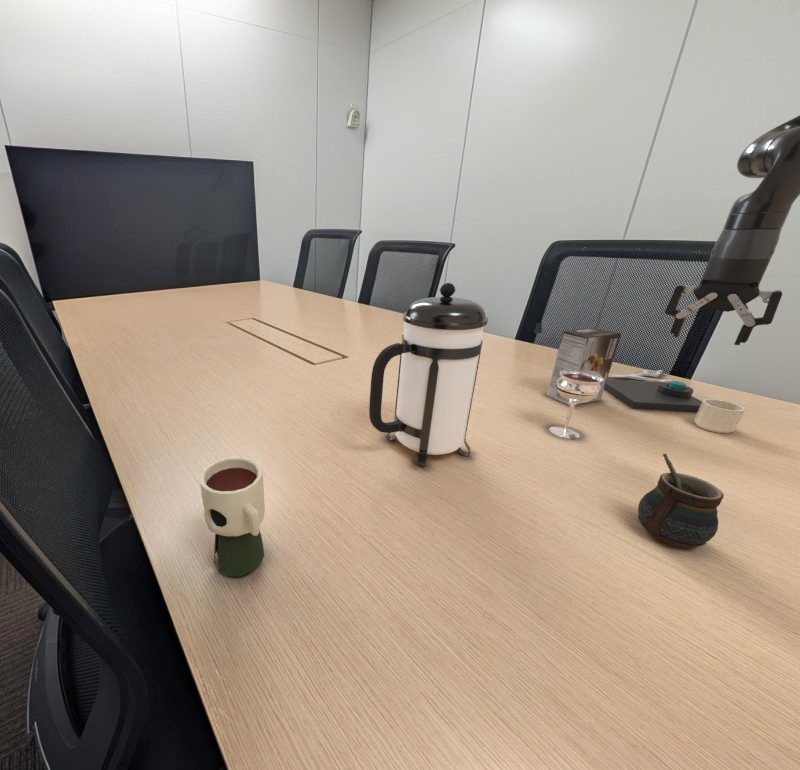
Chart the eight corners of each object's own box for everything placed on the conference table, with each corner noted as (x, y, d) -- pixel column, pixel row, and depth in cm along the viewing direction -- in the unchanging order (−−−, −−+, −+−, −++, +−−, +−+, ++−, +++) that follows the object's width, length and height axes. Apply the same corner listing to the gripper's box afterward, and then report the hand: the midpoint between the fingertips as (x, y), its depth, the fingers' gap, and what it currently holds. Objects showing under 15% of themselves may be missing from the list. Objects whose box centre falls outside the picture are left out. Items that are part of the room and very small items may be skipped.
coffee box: (574, 390, 92) (593, 326, 86) (601, 400, 86) (623, 333, 80) (545, 395, 90) (562, 330, 84) (570, 406, 84) (590, 337, 78)
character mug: (197, 544, 50) (184, 462, 45) (244, 522, 53) (237, 443, 48) (233, 606, 41) (222, 514, 36) (287, 575, 45) (283, 486, 40)
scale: (664, 388, 92) (669, 376, 91) (710, 413, 80) (716, 400, 78) (598, 384, 95) (601, 373, 94) (632, 408, 82) (636, 396, 81)
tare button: (678, 386, 86) (680, 381, 86) (686, 391, 84) (689, 385, 83) (665, 385, 87) (667, 380, 86) (673, 390, 84) (675, 384, 84)
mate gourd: (681, 563, 45) (716, 496, 41) (615, 520, 52) (639, 459, 48) (721, 548, 47) (758, 483, 43) (652, 509, 54) (678, 449, 50)
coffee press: (393, 420, 80) (406, 275, 69) (474, 438, 73) (504, 279, 61) (364, 460, 67) (375, 288, 55) (461, 487, 59) (497, 295, 47)
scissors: (691, 385, 91) (598, 380, 95) (690, 387, 92) (597, 382, 96) (661, 370, 101) (577, 366, 105) (660, 372, 101) (577, 368, 105)
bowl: (718, 422, 76) (728, 399, 74) (742, 435, 71) (754, 412, 69) (685, 419, 77) (695, 398, 75) (707, 433, 72) (718, 409, 70)
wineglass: (579, 445, 69) (598, 385, 65) (538, 431, 74) (553, 375, 70) (590, 433, 73) (609, 376, 69) (550, 421, 78) (566, 367, 74)
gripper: (802, 255, 66) (760, 343, 72) (689, 253, 77) (661, 330, 83) (802, 258, 62) (758, 351, 68) (683, 255, 72) (653, 336, 79)
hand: (705, 340), depth 75 cm, fingers open, 8 cm apart
